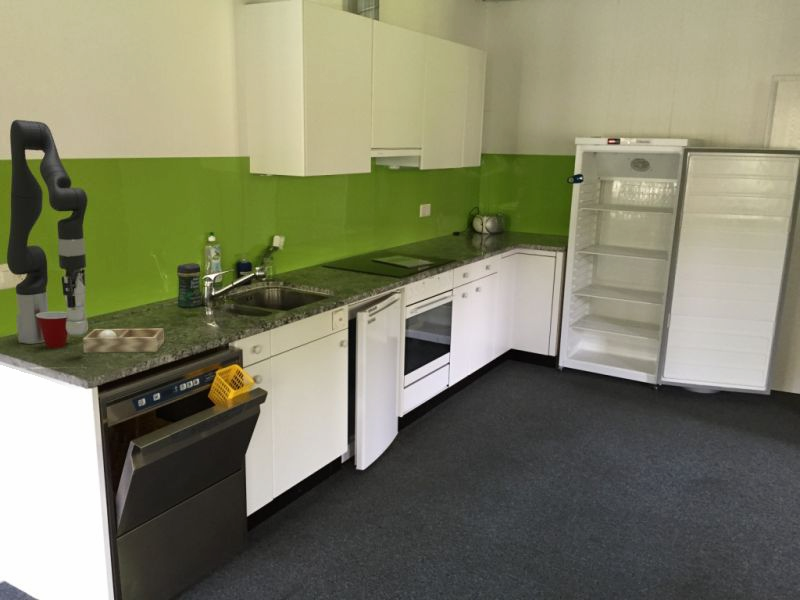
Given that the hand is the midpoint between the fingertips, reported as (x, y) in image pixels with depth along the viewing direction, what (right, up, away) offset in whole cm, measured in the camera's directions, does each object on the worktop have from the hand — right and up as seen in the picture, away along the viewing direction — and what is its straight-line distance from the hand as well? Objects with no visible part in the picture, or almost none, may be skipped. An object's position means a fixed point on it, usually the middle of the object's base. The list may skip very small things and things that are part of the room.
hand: (75, 304), depth 213 cm
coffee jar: (+12, -1, +80) cm, 80 cm away
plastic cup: (-14, -15, +16) cm, 26 cm away
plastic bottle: (0, -10, +2) cm, 10 cm away
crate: (+9, -15, +16) cm, 24 cm away
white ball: (+4, -14, +15) cm, 21 cm away
